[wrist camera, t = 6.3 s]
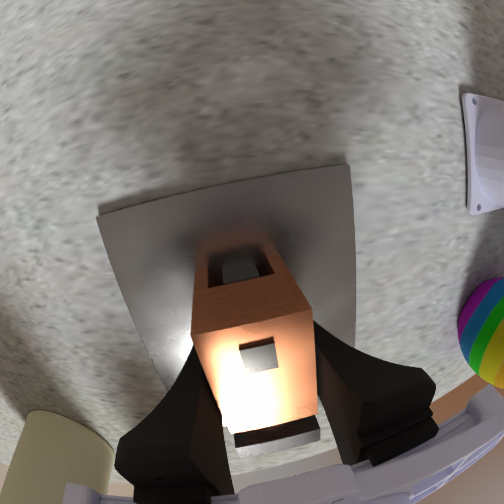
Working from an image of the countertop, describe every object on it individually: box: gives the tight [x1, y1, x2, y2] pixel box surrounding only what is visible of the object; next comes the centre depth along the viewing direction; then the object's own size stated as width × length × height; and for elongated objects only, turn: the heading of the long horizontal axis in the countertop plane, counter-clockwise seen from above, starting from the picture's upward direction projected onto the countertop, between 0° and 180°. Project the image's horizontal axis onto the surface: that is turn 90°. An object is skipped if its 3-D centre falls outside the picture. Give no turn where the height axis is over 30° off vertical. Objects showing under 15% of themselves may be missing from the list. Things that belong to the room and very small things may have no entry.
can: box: [0, 410, 115, 504], centre depth 13 cm, size 9×9×12 cm
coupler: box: [96, 164, 356, 458], centre depth 14 cm, size 12×16×4 cm
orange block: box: [190, 253, 318, 434], centre depth 12 cm, size 4×6×5 cm, turn 10°
